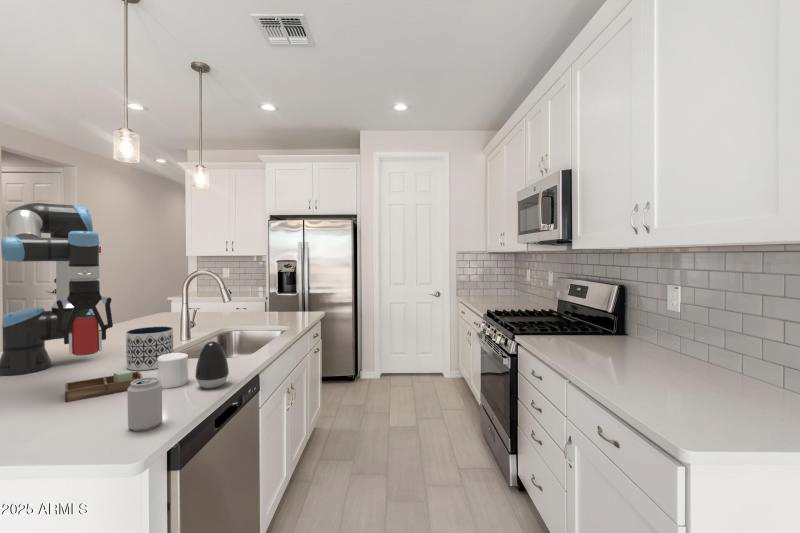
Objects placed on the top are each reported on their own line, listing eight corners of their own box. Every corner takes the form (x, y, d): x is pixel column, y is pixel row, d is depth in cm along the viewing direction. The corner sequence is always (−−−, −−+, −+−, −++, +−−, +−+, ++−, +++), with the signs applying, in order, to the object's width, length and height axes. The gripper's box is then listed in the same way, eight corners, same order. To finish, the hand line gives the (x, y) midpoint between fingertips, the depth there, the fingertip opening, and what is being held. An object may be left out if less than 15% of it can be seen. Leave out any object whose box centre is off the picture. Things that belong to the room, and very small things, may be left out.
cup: (165, 390, 126) (165, 361, 125) (150, 385, 131) (149, 357, 131) (194, 382, 134) (193, 355, 134) (178, 378, 139) (178, 351, 139)
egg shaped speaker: (235, 383, 133) (235, 339, 133) (209, 393, 124) (209, 346, 123) (215, 379, 137) (214, 337, 137) (188, 388, 128) (188, 343, 128)
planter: (148, 359, 164) (148, 326, 164) (182, 360, 162) (181, 327, 162) (116, 370, 149) (115, 333, 148) (153, 372, 146) (152, 334, 146)
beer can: (83, 356, 119) (83, 317, 118) (66, 355, 120) (65, 317, 120) (104, 351, 125) (103, 314, 125) (87, 350, 126) (87, 314, 126)
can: (139, 420, 103) (138, 375, 103) (168, 419, 104) (167, 375, 103) (121, 433, 96) (120, 385, 95) (152, 431, 96) (152, 384, 96)
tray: (65, 393, 123) (65, 383, 123) (139, 380, 136) (139, 371, 136) (65, 402, 116) (65, 391, 116) (143, 387, 129) (143, 378, 128)
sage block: (113, 384, 129) (113, 372, 128) (127, 381, 132) (127, 370, 132) (118, 387, 126) (118, 374, 126) (132, 383, 130) (132, 372, 129)
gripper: (41, 281, 113) (43, 359, 113) (123, 279, 125) (124, 349, 126) (43, 280, 118) (44, 354, 119) (121, 278, 131) (122, 345, 132)
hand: (85, 352), depth 122 cm, fingers closed on beer can, 7 cm apart
